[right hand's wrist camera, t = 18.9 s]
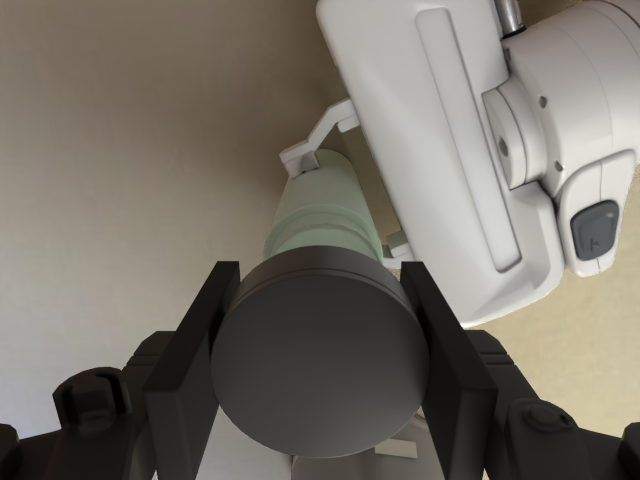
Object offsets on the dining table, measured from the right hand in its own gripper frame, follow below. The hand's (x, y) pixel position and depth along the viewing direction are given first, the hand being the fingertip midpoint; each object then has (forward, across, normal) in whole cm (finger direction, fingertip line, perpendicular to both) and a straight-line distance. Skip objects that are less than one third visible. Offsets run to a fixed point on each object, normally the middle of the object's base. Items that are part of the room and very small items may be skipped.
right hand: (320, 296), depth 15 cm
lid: (-4, 0, 0) cm, 4 cm away
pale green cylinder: (+16, 0, +1) cm, 16 cm away
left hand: (+10, -1, 0) cm, 10 cm away
